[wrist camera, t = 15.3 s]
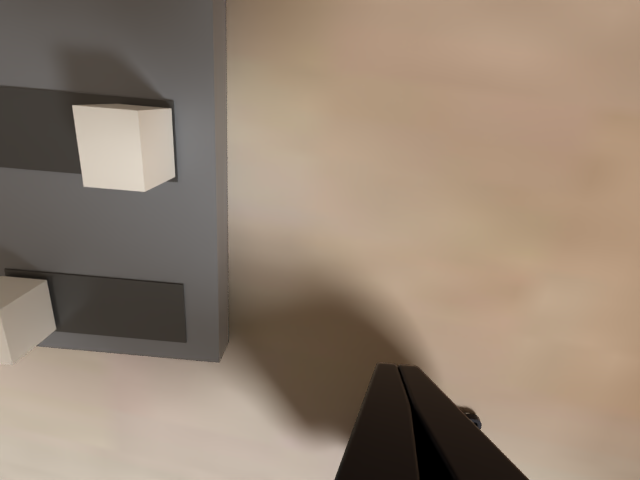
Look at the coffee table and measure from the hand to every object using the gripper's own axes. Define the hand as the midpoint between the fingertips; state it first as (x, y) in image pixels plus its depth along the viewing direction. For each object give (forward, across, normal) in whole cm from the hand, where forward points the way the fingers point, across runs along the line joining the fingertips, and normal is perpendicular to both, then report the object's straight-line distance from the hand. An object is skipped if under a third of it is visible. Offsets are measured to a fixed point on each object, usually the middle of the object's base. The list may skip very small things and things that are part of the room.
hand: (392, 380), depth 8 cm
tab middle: (+11, +10, -3) cm, 15 cm away
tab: (+11, +17, +6) cm, 21 cm away
